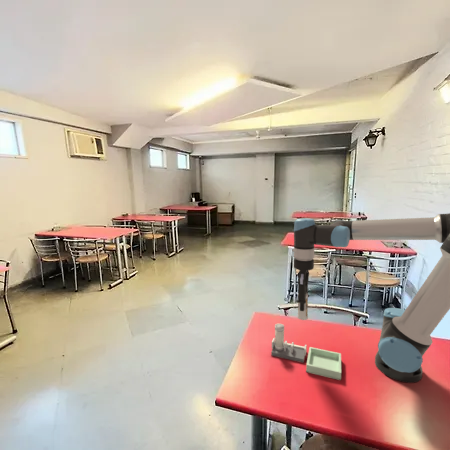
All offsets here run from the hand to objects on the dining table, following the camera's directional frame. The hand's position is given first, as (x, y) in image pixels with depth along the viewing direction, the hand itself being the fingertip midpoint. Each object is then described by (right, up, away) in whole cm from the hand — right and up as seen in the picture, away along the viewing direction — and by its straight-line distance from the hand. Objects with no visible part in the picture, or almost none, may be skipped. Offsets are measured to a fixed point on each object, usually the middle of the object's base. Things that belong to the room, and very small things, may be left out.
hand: (302, 314), depth 106 cm
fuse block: (-4, -18, +5) cm, 19 cm away
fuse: (-8, -16, +6) cm, 19 cm away
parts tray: (+7, -19, -3) cm, 20 cm away
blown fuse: (0, -1, 0) cm, 1 cm away
